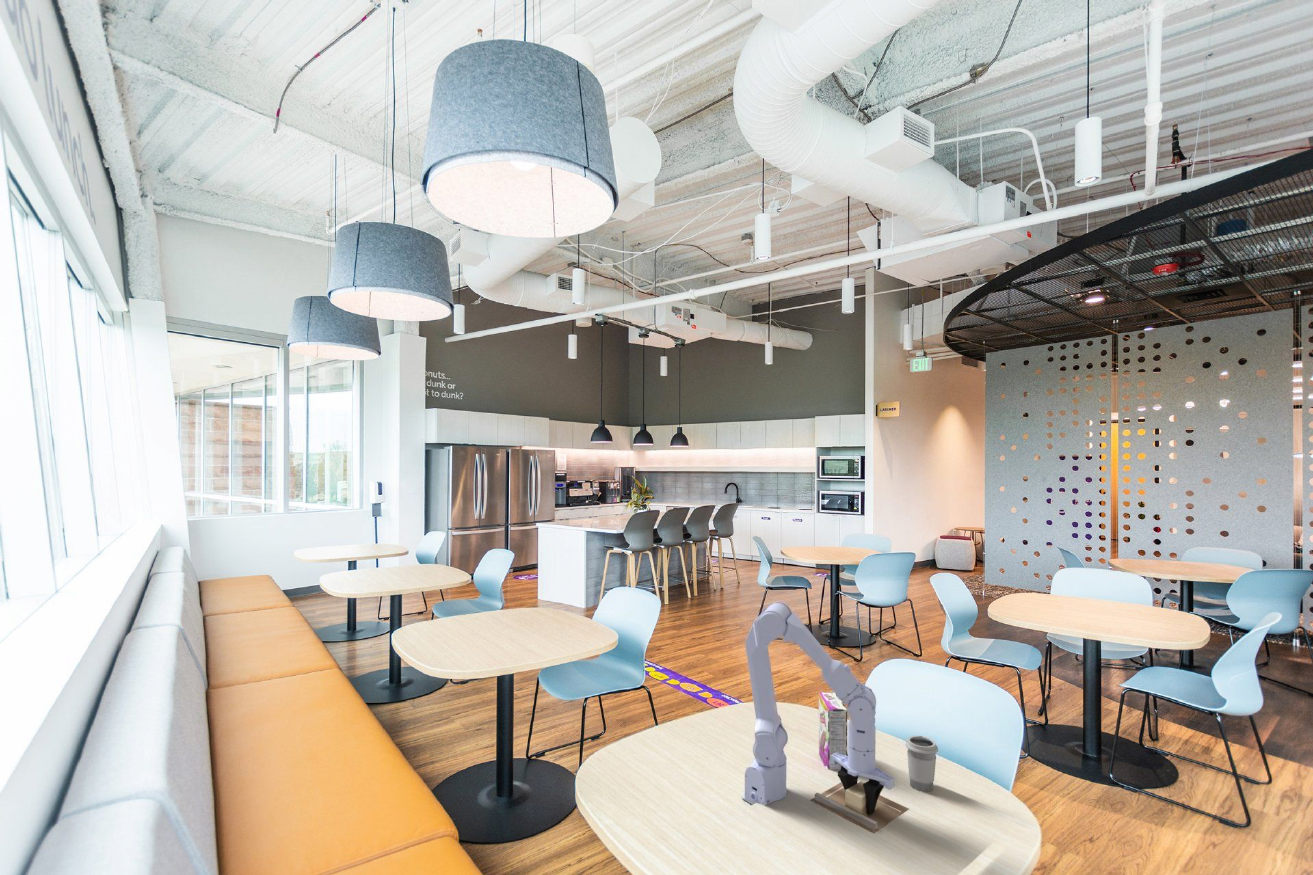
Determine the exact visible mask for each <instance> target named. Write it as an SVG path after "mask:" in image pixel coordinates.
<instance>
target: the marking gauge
mask: <svg viewBox="0 0 1313 875" xmlns="http://www.w3.org/2000/svg"><path fill="white" fill-rule="evenodd" d="M864 783H865V782H864V781H862V780H860V781H859V782H857V784H855V785H854V786H852V787H850V788H848V789H847V790H845V807H847V808H849V809H851V810H853V811H855V812H857V813H859V814H861V815H863V816H865V817H866V816H867V815H868V814H867V812H866V796H865V791H864V787H863V784H864ZM876 809H877V803H876V807H875V810H876Z"/></svg>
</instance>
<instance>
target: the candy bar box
mask: <svg viewBox="0 0 1313 875" xmlns="http://www.w3.org/2000/svg"><path fill="white" fill-rule="evenodd" d="M846 707H847V706H845V703H844V702H842V701H841V699H840V698H839V697H838V696H837V695H836V694H835V693H834V691H833V692H831V691H830V692H829V691H827V692H825V691H820V692H818V755H819V757H820V760H821V761H822V763H823V765H824V767H827V770H830V771H831V770H832V771H840V769H841V766H839V765H837V764H836V765H833V764H831V755H832V754H834V753H839V754H841V755H845V756H848V712H847V708H846Z"/></svg>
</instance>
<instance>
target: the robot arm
mask: <svg viewBox="0 0 1313 875" xmlns="http://www.w3.org/2000/svg"><path fill="white" fill-rule="evenodd" d="M782 636H783V638H782V640H781V641H782V642H786V643H793V644H795V645H797V646H798V647H799V648H800V649H801V650H802V651H803V653H805V654H806V655H807V656H808V657H809V658H810V659H811V661H813V663H815V664H816V666H817V667H818V668H820V670H821V679H822V680H823V681H824V682H825V684H827V686H828V687H829V688H830V689H831V690H832V691H833V692H834V693H835V694H836V695H837V696H838V697H839V698H840V699H841V701H842V703H843V704H844V705H846V706H845V707H846V709H847V716H849V717H848V718H849V719H848V720H849V721H848V722H847V756H845V755H841V754H839V753H834V754H832V755H831V764H833V765H836V764H837V765H839V766H841V769H840V770H837V777H838V778H839V780H840V783H841V782H842V784H843V787H844V790H847V789H848V788H850V787H852V786H854V785H855V784H857V783H858V779H859V777H862V778H865V779H868V781H866V782H864V784H863V787H864V791H865V796H866V812H867V814H868V815H871V814H872V813H874V812H875V807H876V803H877V800H878V797H879V795H880V796H881V793H882V791H883V789H884V788H885V789H887V791H888V790H889V791H891V789H893V788H894V787H895V777H893V776H891V775H889V774H888V773H886V772H885V771H884V770H882V769H881V768H879V767H878V766H876V743H877V742H876V738H877V737H876V733H877V732H876V730H877V729H876V728H877V727H876V717H875V716H876V708H877V698H876V695H875V693H874V692H873V689H872V688H870V687H869V686H867V685H865V683H861V682H860V681H859V680H858V679H857V677H856V676H855V675H854V674H853V673H852V672H851V668H852V667H851V666H850V665H849V664H848V663H846V664H844V663H843V662H842V661H841V660H836V659H834V658H832V657H831V656H830V655H829V654H828V652H827V651H826V649H825V648H824V647H823V646H822V645H821V643H820V642H819V641H818V640H817V639H816V637H815V636H814V634H813V633H812V632H811V631H810V630H809V629H808V627H807V626H806V625H805V623H803V621H802V620H801V618H800V616H799V615H798V614H796V613H795V612H794V611H793V612H792V609H791V608H790V607H789V605H788V604H786V603H785V602H782V601H773V602H772V603H770V604H769V605H767V607H765V608H764V609H763V610H762V611H761V612H760V614H759V615H758V616H757V617H756V618H755V619H754V620H753V624H752V625H751V627H750V629H749V631H748V634H747V635H746V637H745V640H744V645H745V646H744V647H745V651H746V659H747V666H748V671H749V680H750V686H751V693H752V701H753V706H754V714H755V725H754V744H753V746H752V753H753V756H754V758H753V760H752V763H751V764H750V765H748V767H747V768H746V769H745V771H744V794H743V795H741V799H742V800H744V801H746V802H748V803H749V804H751V805H755V804H757V803H758V804H760V805H763V807H764V806H767V805H769V804H771V803H772V802H776V801H778V800H782V799H784V798H785V797H786V796H787V756H786V754H785V751H784V749H785V747H786V745H787V743H788V740H789V736H788V733H787V730H786V729H785V727H784V726H783V723H782V718H781V716H780V715H779V713H778V707H777V700H776V694H775V688H774V687H775V686H774V685H775V684H774V682H773V681H774V679H773V673H772V666H771V660H770V653H769V647H768V646H769V645H770V644H771V643H772V642H773V641H775V640H777V639H779V638H781V637H782Z"/></svg>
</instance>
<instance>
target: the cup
mask: <svg viewBox="0 0 1313 875" xmlns="http://www.w3.org/2000/svg"><path fill="white" fill-rule="evenodd" d="M905 747H906V749H907V767H908V776H909V784H910V787H911V788H912V789H914V790H915V791H918V792H922V793H929V792H931V791H933V788H934V781H935V775H936V774H935V773H936V764H937V763H936V761H937V754H936V753H938V752H939V748H938V746H937V744H936V742H935V740H933V739H931V738H930V737H926V736H923V735H912V736H909V737H908V739H907V740H906V742H905Z"/></svg>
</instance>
